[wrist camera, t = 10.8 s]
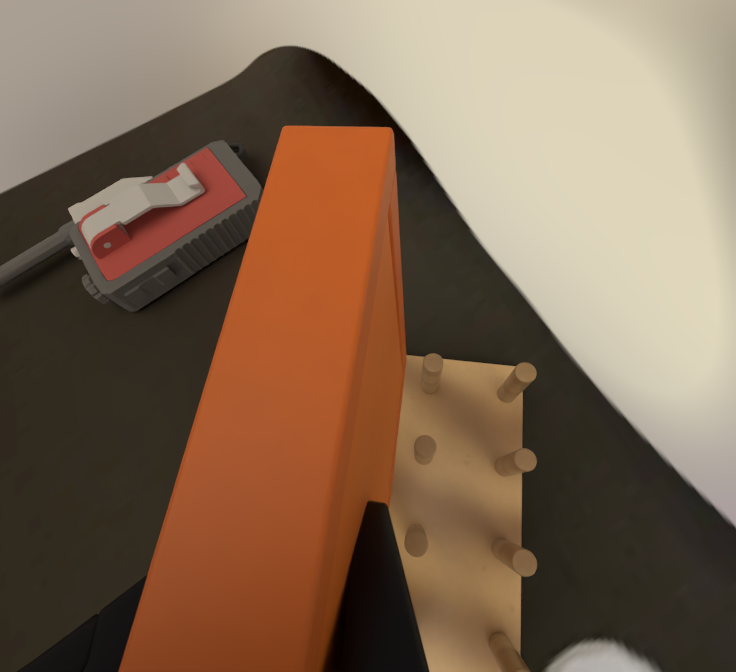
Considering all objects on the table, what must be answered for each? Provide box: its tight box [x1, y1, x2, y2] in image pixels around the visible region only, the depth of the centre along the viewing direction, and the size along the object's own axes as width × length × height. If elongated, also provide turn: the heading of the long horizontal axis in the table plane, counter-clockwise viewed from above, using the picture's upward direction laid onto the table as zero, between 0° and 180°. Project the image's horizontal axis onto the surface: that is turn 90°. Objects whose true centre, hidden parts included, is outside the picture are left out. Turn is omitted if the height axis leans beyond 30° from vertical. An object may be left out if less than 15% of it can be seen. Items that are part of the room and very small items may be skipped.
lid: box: [119, 126, 407, 672], centre depth 10 cm, size 10×2×11 cm, turn 172°
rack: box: [389, 353, 537, 672], centre depth 18 cm, size 14×13×5 cm
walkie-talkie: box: [0, 140, 263, 312], centre depth 25 cm, size 9×4×20 cm
